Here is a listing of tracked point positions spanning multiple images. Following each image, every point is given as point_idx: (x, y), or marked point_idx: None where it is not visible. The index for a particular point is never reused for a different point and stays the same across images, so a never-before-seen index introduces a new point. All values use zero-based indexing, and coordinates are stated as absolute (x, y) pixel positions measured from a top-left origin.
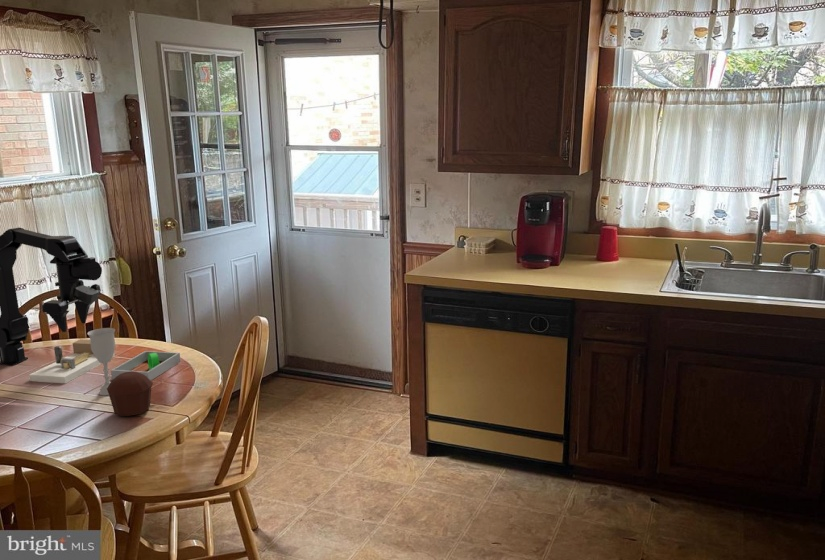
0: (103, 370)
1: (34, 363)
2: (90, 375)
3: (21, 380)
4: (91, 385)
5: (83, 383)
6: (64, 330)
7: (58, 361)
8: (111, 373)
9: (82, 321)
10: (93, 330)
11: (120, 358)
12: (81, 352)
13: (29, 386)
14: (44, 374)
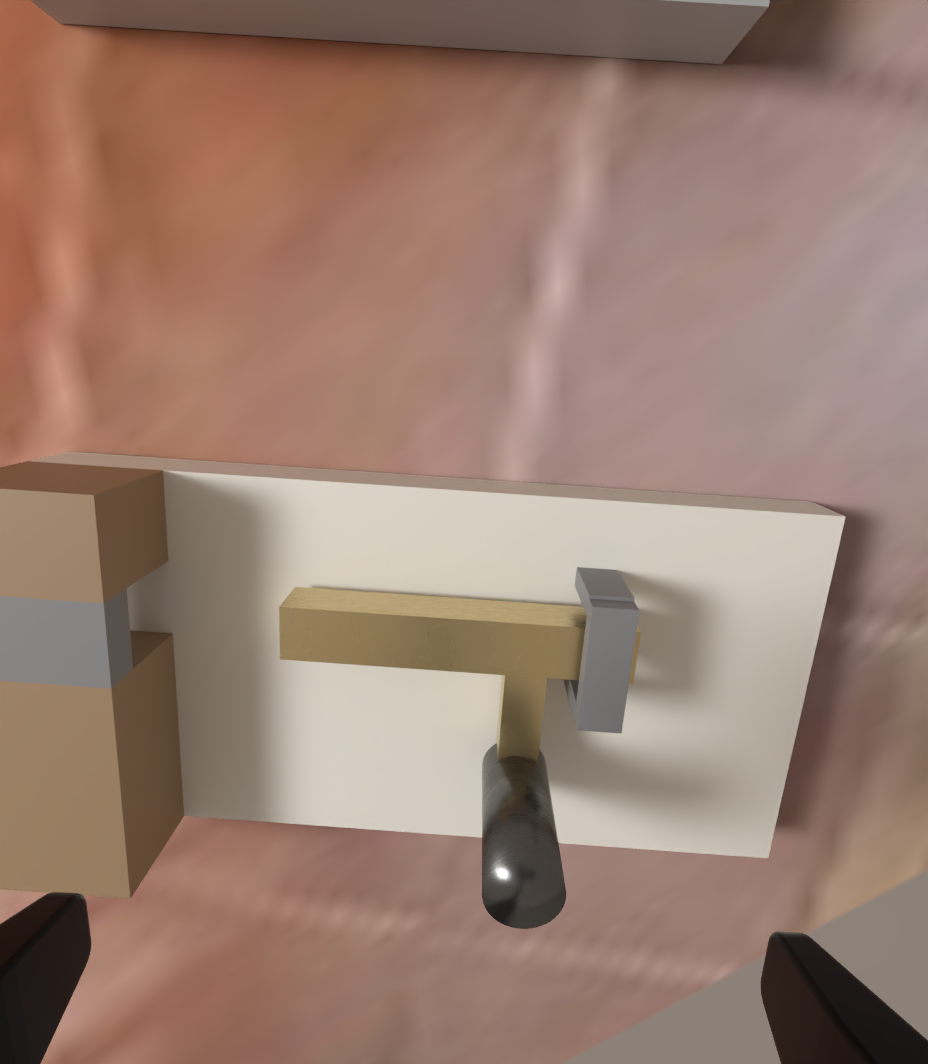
0: None
1: (356, 1000)
2: (596, 389)
3: (726, 883)
4: (879, 203)
5: (816, 326)
6: (837, 975)
7: (545, 771)
8: (752, 20)
9: (60, 977)
10: None
11: (92, 368)
12: (173, 749)
13: (865, 753)
14: (763, 741)
